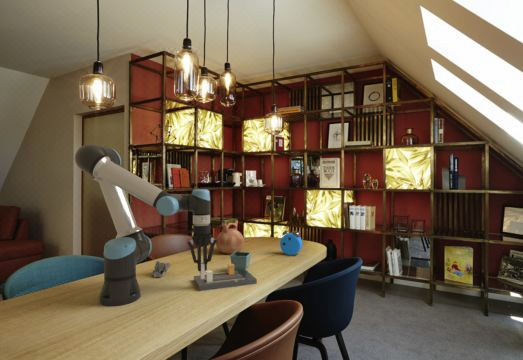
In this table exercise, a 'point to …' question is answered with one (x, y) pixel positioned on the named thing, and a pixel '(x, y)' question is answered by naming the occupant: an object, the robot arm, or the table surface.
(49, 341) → the table surface
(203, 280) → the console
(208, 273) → the fader ivory
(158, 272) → the mineral specimen
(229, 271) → the fader orange
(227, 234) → the jug
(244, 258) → the flower pot
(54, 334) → the table surface
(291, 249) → the alarm clock
